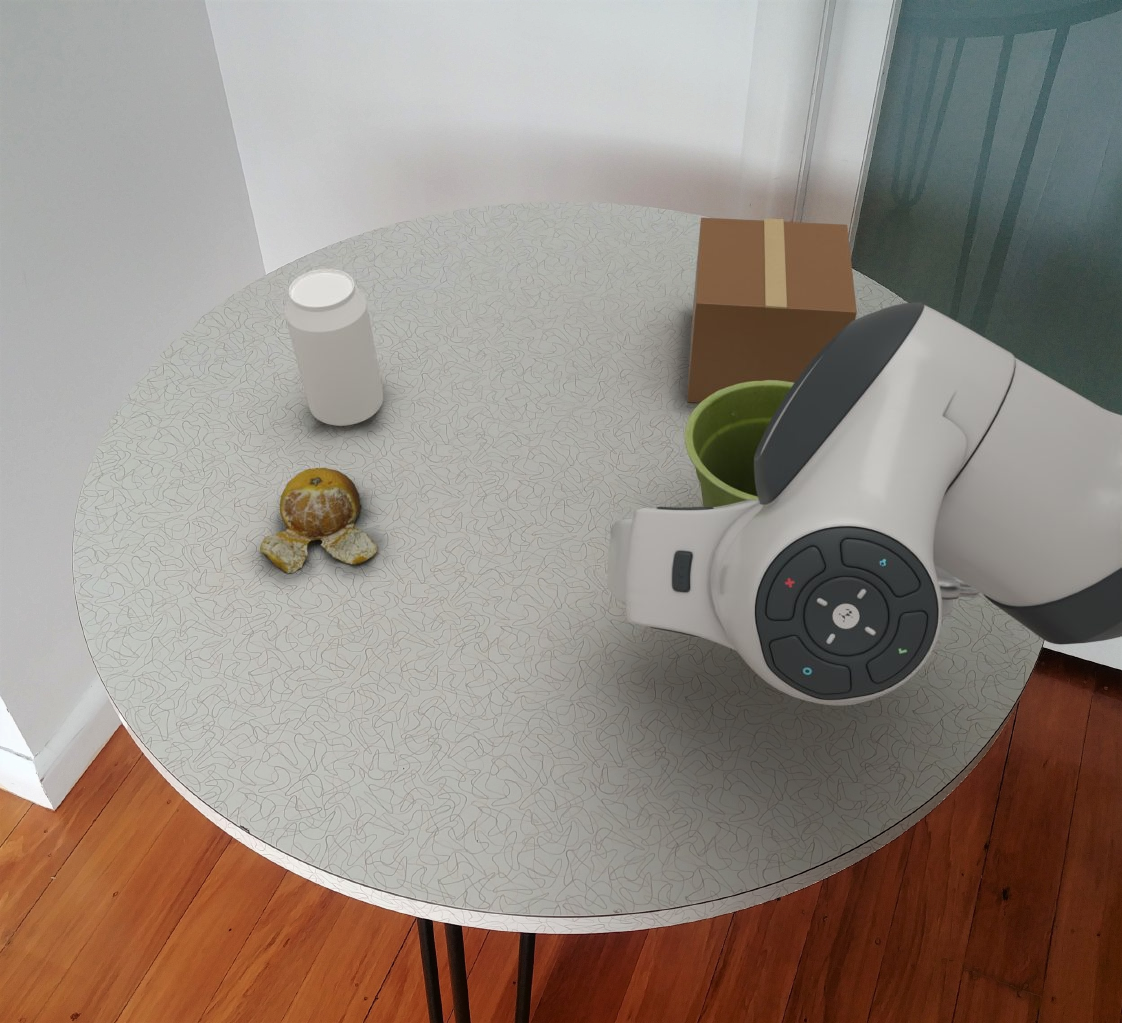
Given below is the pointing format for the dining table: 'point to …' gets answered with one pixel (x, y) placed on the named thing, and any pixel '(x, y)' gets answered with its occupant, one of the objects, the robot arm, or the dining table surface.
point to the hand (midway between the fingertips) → (763, 559)
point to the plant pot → (731, 438)
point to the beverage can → (334, 347)
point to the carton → (766, 300)
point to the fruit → (319, 520)
